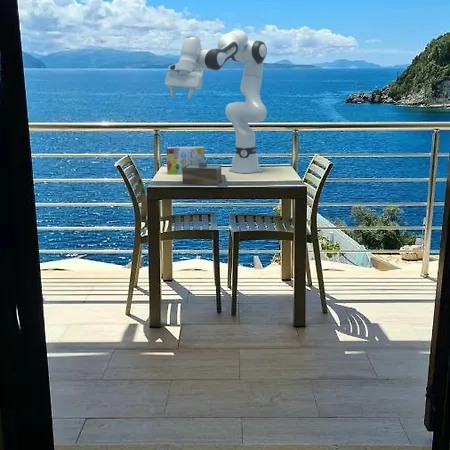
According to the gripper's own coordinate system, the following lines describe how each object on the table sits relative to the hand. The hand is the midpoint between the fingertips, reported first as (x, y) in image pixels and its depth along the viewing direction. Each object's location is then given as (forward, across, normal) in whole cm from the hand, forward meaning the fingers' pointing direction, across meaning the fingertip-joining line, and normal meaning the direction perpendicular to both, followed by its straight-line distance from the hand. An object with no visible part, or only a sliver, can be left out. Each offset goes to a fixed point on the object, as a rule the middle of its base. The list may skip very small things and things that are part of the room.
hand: (180, 97), depth 284 cm
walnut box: (+37, -5, -27) cm, 46 cm away
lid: (+30, -5, -25) cm, 39 cm away
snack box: (+32, +17, -44) cm, 57 cm away
